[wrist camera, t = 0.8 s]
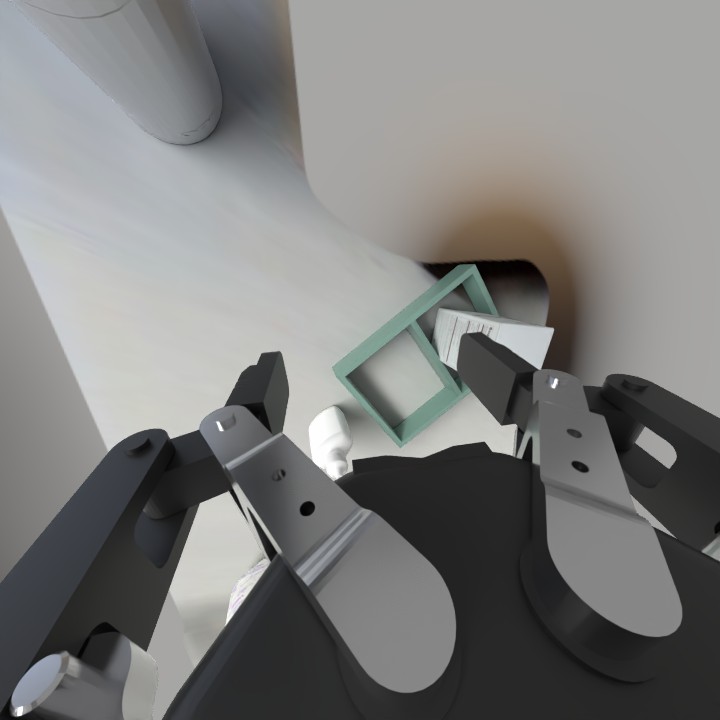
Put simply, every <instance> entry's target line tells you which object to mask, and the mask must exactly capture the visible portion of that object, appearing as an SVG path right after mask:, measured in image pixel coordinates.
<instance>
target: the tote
mask: <svg viewBox="0 0 720 720" xmlns="http://www.w3.org/2000/svg"><path fill="white" fill-rule="evenodd" d="M460 283H462V284H463V286H464V288H465V290H466V292H467V294H468V296H469V298H470V299H471V301H472V303H473V305H474V307H475V309H476V311H477V312H481V313H486V314H490V315H495V316H499V314H498V312H497V310H496V307H495V305H494V303H493V301H492V299H491V297H490V295H489V293H488V291H487V288H486V286H485V284H484V282H483V280H482V278H481V276H480V274H479V272H478V269H477V267H476V265H475V264H469V265H458V266H457V267H456V268H454V269H453V270H452V271H451V272H450V273H448V274H447V275H446V276H445V277H443V278H442V279H441V280H440V281H438V282H437V283H436V284H435V285H433V286H432V287H431V288H430V289H429V290H427V291H426V292H425V293H424V294H422V295H421V296H420V297H419V298H417V299H416V300H415V301H414V302H412V303H411V304H410V305H409V306H407V307H406V308H405V309H404V310H403V311H401V312H400V313H399V314H398V315H396V316H395V317H394V318H393V319H391V320H390V321H389V322H388V323H386V324H385V325H384V326H383V327H382V328H380V329H379V330H378V331H377V332H375V333H374V334H373V335H372V336H370V337H369V338H368V339H367V340H365V341H364V342H363V343H362V344H361V345H359V346H358V347H357V348H356V349H354V350H353V351H352V352H351V353H349V354H348V355H347V356H346V357H344V358H343V359H342V360H341V361H340V362H338V363H337V364H336V365H335V366H333V367H332V368H333V371H334V373H335V375H336V377H337V378H338V379H339V380H340V382H341V383H342V384H343V385H344V386H345V387H346V388H347V389H348V390H349V392H350V393H351V394H352V395H353V396H354V397H355V398H356V399H357V401H358V402H359V403H360V404H361V405H362V406H363V407H364V408H365V409H366V411H367V412H368V413H369V414H370V415H371V416H372V417H373V418H374V420H375V421H376V422H377V423H378V424H379V425H380V426H381V427H382V428H383V430H384V431H385V432H386V433H387V434H388V435H389V436H390V437H391V438H392V440H393V441H394V442H395V443H396V444H397V445H398V446H399V447H400V448H401V447H402V446H404V445H405V444H406V443H407V442H409V441H410V440H411V439H412V438H414V437H415V436H416V435H417V434H419V433H420V432H421V431H422V430H424V429H425V428H426V427H427V426H429V425H430V424H431V423H432V422H434V421H435V420H436V419H437V418H439V417H440V416H441V415H442V414H444V413H445V412H446V411H447V410H448V409H450V408H451V407H452V406H453V405H455V404H456V403H457V402H458V401H460V400H461V399H462V398H463V397H465V396H466V395H467V394H468V393H470V392H471V390H470V389H469V387H468V386H467V385H466V384H465V383H464V382H463V381H462V379H461V378H460V377H458V378H456V379H455V380H453V378H452V377H451V375H450V374H449V372H448V370H447V369H446V367H445V366H444V364H443V363H442V362H441V361H440V358H439V356H438V355H437V353H436V352H435V350H434V349H433V347H432V345H431V344H430V342H429V341H428V339H427V338H426V336H425V335H424V333H423V331H422V330H421V328H420V327H419V325H418V324H417V322H416V321H415V320H416V319H417V318H418V317H420V316H421V315H422V314H423V313H425V312H426V311H427V310H428V309H429V308H431V307H432V306H433V305H434V304H436V303H437V302H438V301H439V300H441V299H442V298H443V297H444V296H446V295H447V294H448V293H449V292H450V291H452V290H453V289H454V288H455V287H457V286H458V285H459V284H460ZM405 328H406V329H407V330H408V332H409V333H410V335H411V336H412V338H413V339H414V341H415V342H416V344H417V345H418V347H419V348H420V350H421V351H422V353H423V354H424V356H425V357H426V359H427V360H428V362H429V363H430V365H431V366H432V368H433V369H434V371H435V372H436V374H437V375H438V377H439V378H440V380H441V381H442V383H443V384H444V386H445V388H444V389H443V390H441V391H440V392H439V393H438V394H436V395H435V396H434V397H433V398H431V399H430V400H429V401H428V402H426V403H425V404H424V405H423V406H421V407H420V408H419V409H418V410H417V411H415V412H414V413H413V414H412V415H410V416H409V417H408V418H407V419H405V420H404V421H403V422H402V423H400V424H399V425H398V426H397V427H395V428H394V429H393V428H392V427H391V426H390V425H389V424H388V423H387V421H386V420H385V419H384V418H383V417H382V416H381V414H380V413H379V412H378V411H377V410H376V409H375V408H374V406H373V405H372V404H371V403H370V402H369V401H368V400H367V398H366V397H365V396H364V395H363V394H362V393H361V391H360V390H359V389H358V388H357V387H356V386H355V385H354V383H353V382H352V381H351V380H350V379H349V378H348V377H347V375H348V374H349V373H350V372H352V371H353V370H354V369H355V368H356V367H358V366H359V365H360V364H361V363H363V362H364V361H365V360H366V359H368V358H369V357H370V356H371V355H373V354H374V353H375V352H376V351H377V350H379V349H380V348H381V347H382V346H384V345H385V344H386V343H387V342H389V341H390V340H391V339H392V338H394V337H395V336H396V335H397V334H399V333H400V332H401V331H402V330H403V329H405Z"/></svg>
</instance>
